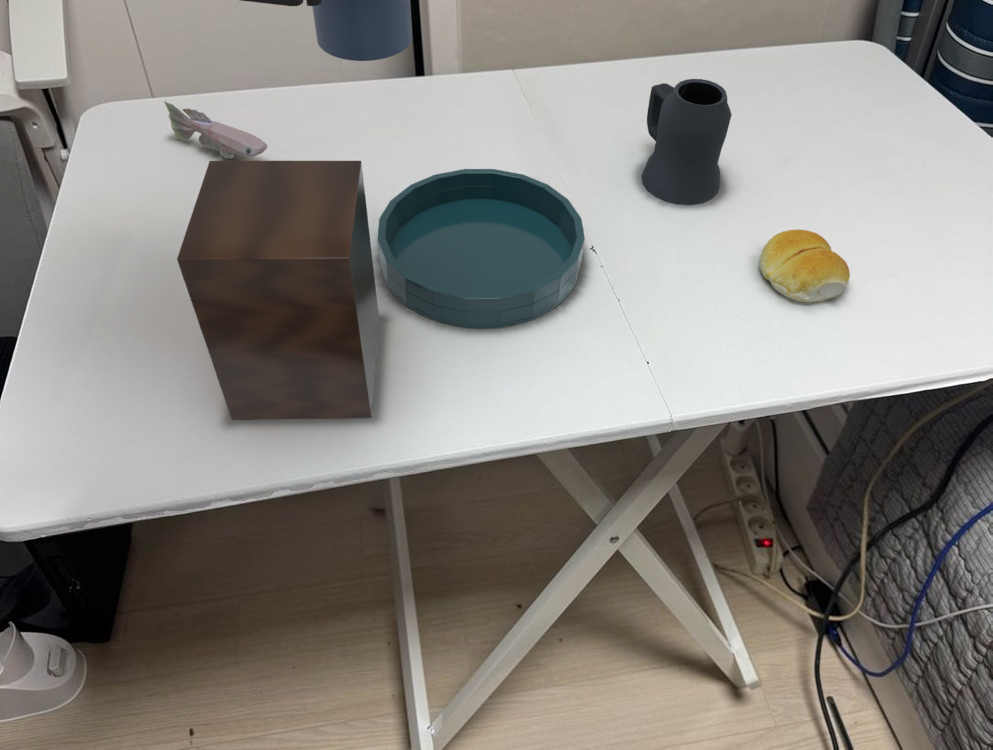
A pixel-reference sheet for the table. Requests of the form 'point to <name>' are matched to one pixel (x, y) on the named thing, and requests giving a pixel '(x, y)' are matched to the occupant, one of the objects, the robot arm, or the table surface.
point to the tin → (363, 28)
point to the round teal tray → (480, 248)
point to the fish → (214, 134)
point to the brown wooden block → (285, 287)
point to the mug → (686, 140)
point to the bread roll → (803, 266)
